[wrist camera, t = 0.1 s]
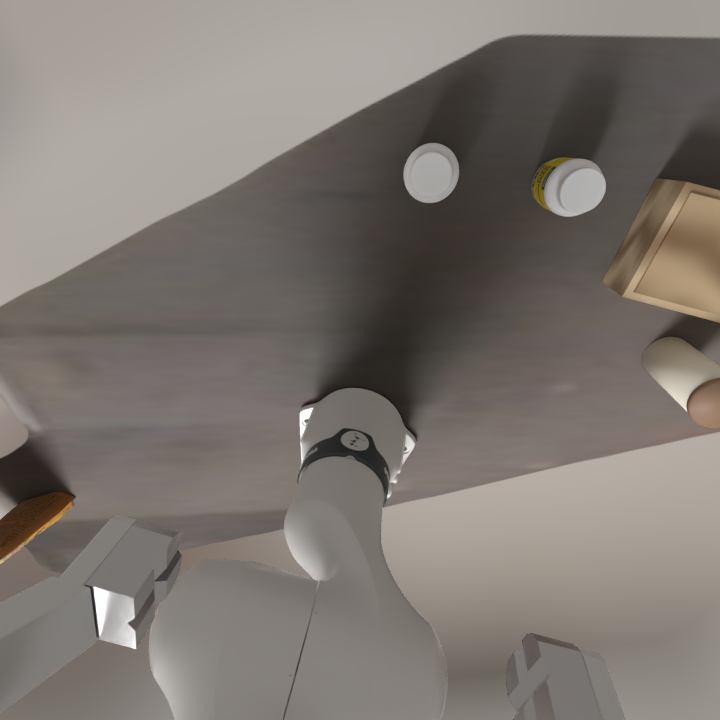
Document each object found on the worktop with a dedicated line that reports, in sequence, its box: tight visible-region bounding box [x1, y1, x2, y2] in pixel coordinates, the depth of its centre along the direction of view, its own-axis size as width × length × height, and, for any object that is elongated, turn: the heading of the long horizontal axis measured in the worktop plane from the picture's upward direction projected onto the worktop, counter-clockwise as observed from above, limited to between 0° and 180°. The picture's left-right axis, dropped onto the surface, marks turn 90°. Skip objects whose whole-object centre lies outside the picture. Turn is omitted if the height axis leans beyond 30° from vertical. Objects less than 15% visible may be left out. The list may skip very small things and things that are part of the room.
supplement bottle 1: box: [403, 143, 459, 203], centre depth 44 cm, size 6×6×10 cm
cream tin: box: [642, 337, 720, 428], centre depth 49 cm, size 6×6×12 cm
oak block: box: [602, 178, 720, 323], centre depth 46 cm, size 12×12×6 cm
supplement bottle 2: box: [532, 157, 606, 217], centre depth 43 cm, size 5×5×10 cm
